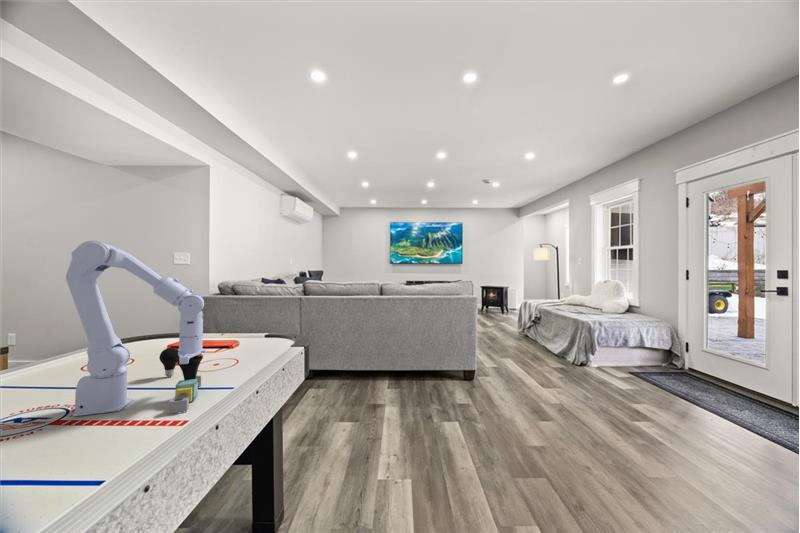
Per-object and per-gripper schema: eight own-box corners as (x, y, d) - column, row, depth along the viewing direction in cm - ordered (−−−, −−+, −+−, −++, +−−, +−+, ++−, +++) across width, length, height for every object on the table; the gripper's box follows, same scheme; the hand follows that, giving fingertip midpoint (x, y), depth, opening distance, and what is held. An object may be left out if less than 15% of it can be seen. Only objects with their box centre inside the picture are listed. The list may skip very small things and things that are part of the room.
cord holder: (186, 411, 81) (187, 395, 81) (168, 414, 79) (168, 397, 79) (204, 385, 100) (204, 371, 100) (189, 386, 99) (190, 372, 99)
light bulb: (184, 374, 110) (184, 346, 111) (170, 380, 105) (171, 350, 105) (168, 373, 111) (169, 345, 111) (154, 379, 105) (155, 349, 105)
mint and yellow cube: (175, 402, 85) (175, 385, 85) (179, 397, 89) (180, 380, 89) (194, 400, 87) (194, 383, 87) (197, 395, 91) (197, 378, 91)
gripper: (201, 339, 86) (200, 389, 86) (211, 330, 100) (210, 373, 99) (170, 341, 84) (169, 392, 83) (185, 331, 97) (184, 375, 97)
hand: (190, 382), depth 91 cm, fingers closed
